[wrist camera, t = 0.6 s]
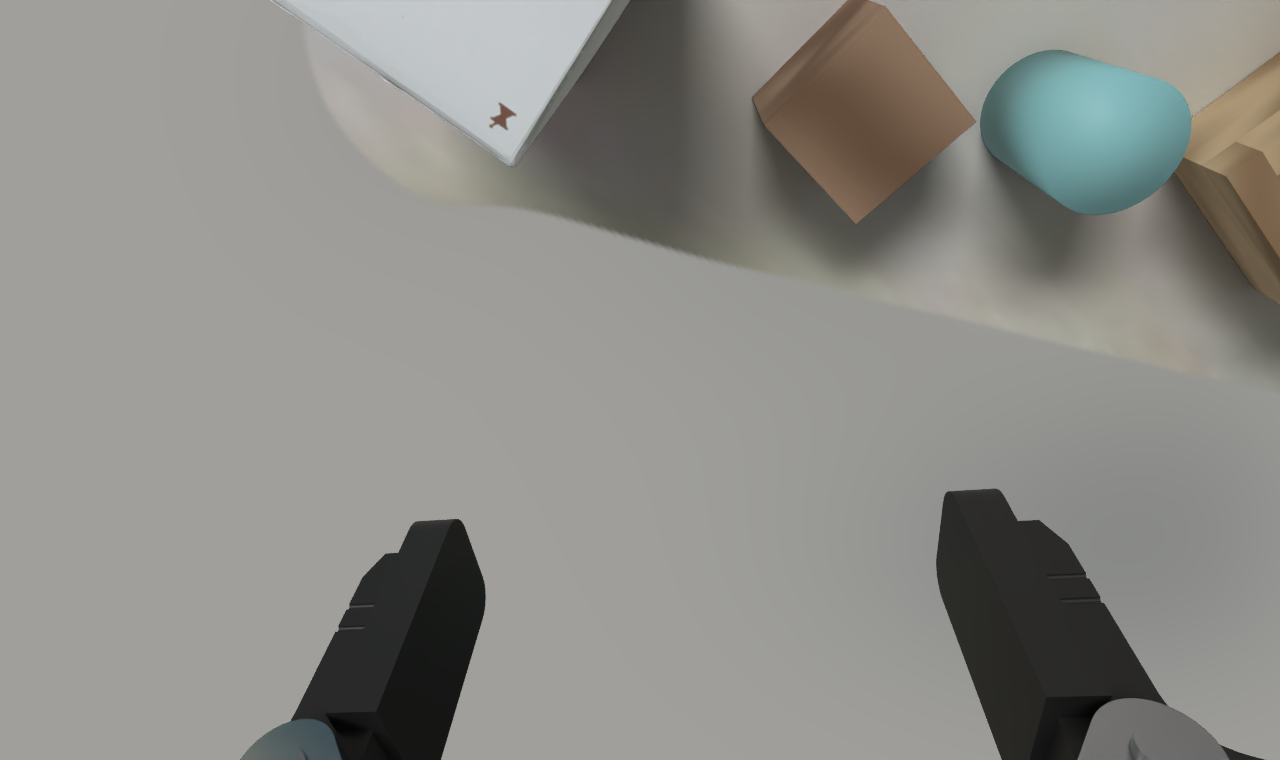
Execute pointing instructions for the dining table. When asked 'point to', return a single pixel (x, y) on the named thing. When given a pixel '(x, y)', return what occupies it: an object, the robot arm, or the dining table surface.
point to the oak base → (1241, 174)
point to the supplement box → (472, 56)
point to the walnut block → (861, 107)
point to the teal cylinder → (1086, 130)
